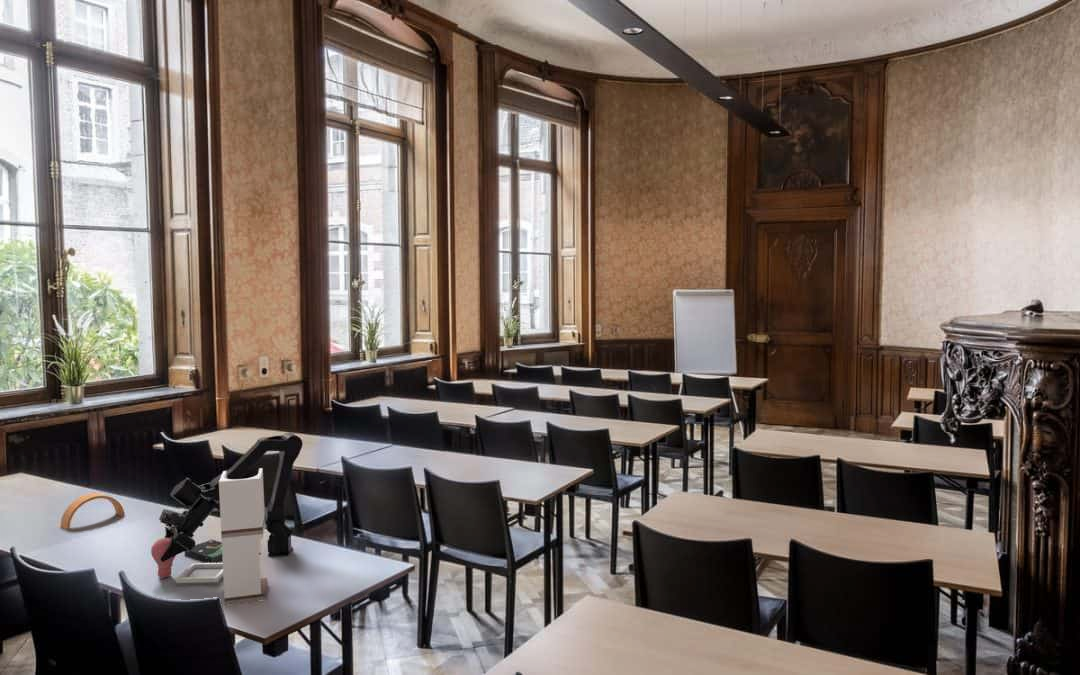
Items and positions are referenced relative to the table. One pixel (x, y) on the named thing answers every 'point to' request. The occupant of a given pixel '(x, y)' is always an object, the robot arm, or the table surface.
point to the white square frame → (201, 575)
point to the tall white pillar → (242, 537)
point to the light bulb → (158, 552)
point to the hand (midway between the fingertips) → (159, 557)
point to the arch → (82, 500)
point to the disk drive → (207, 551)
